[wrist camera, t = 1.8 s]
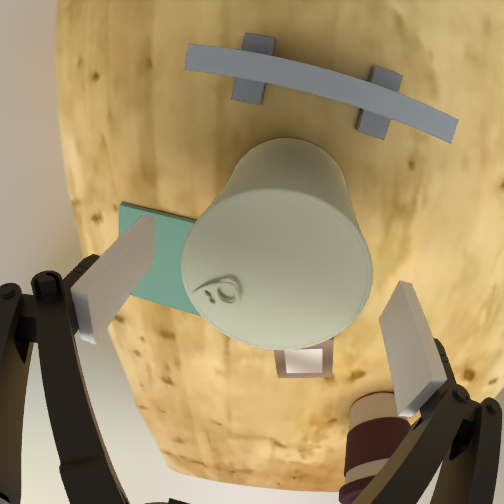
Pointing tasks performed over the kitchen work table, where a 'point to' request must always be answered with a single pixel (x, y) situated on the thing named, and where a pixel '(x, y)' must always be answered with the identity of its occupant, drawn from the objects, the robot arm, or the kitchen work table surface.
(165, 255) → the mat
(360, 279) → the can
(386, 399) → the coffee cup
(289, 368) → the letter cube
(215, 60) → the screen
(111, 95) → the kitchen work table surface
